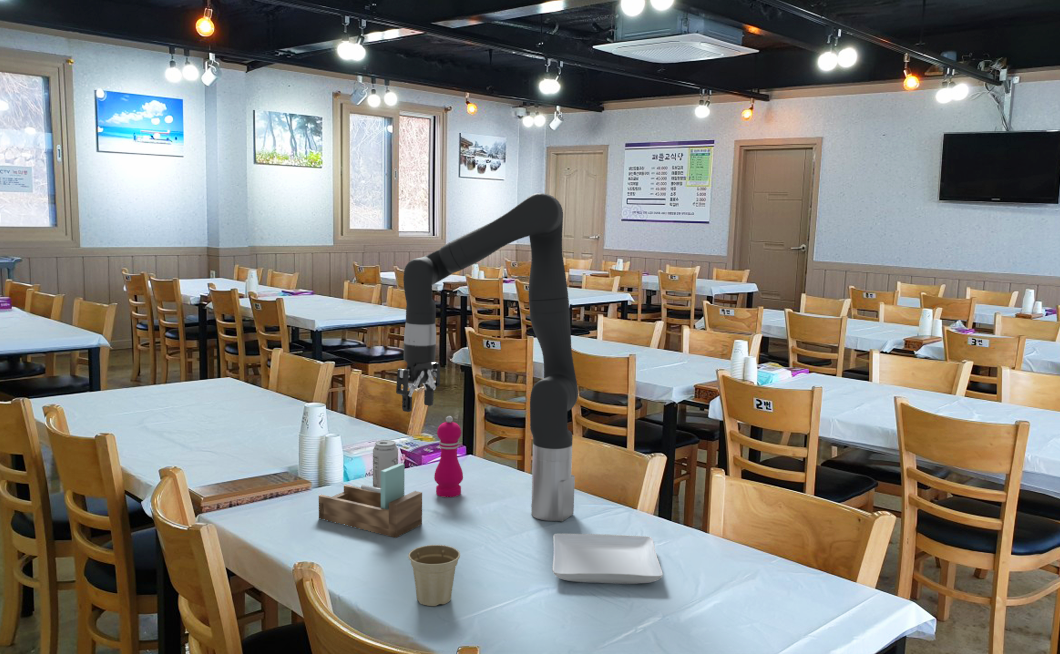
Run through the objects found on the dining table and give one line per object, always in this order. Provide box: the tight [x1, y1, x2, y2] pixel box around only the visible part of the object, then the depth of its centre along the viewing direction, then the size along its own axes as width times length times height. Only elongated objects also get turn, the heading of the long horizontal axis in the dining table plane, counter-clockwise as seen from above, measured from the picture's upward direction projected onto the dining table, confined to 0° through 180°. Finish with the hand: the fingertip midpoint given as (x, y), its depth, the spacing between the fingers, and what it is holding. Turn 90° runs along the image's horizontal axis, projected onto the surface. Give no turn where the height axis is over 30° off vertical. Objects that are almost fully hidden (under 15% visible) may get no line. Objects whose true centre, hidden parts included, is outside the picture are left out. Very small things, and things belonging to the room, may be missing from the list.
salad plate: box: [551, 533, 664, 585], centre depth 173 cm, size 21×21×3 cm
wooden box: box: [318, 484, 423, 539], centre depth 194 cm, size 22×10×8 cm, turn 62°
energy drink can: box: [372, 439, 399, 488], centre depth 207 cm, size 6×6×15 cm
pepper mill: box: [433, 415, 464, 498], centre depth 214 cm, size 7×7×20 cm
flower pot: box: [407, 544, 461, 607], centre depth 156 cm, size 9×9×9 cm
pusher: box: [360, 462, 406, 510], centre depth 193 cm, size 9×7×12 cm
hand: (418, 408), depth 205 cm, fingers open, 8 cm apart
